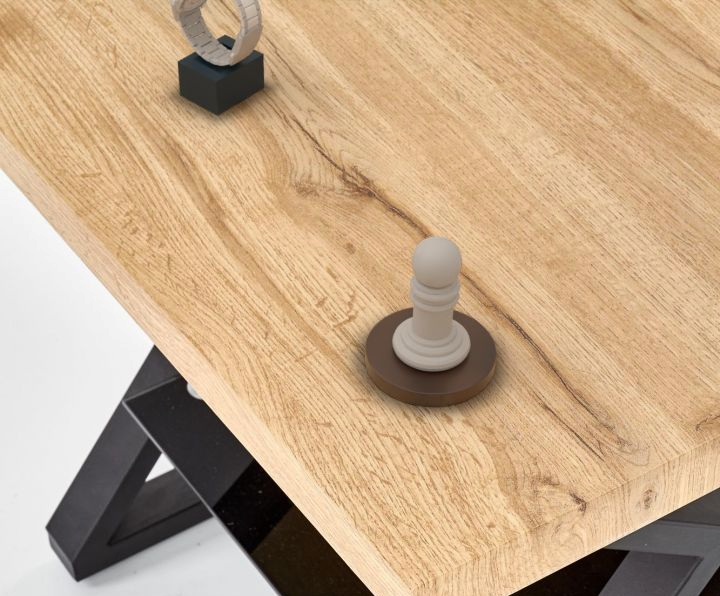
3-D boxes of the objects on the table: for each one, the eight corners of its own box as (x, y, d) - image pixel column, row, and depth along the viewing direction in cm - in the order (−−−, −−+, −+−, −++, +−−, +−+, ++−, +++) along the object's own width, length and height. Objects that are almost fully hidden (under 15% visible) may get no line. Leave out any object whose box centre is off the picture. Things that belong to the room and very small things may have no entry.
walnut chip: (488, 318, 112) (490, 305, 111) (501, 406, 106) (502, 393, 105) (362, 319, 112) (362, 306, 111) (367, 407, 106) (368, 394, 105)
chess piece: (381, 330, 109) (386, 225, 102) (454, 316, 110) (463, 211, 103) (406, 381, 106) (413, 276, 99) (481, 366, 107) (493, 261, 100)
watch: (210, 59, 133) (203, -65, 125) (280, 95, 130) (277, -29, 121) (162, 86, 130) (152, -38, 122) (232, 124, 127) (227, -1, 118)
